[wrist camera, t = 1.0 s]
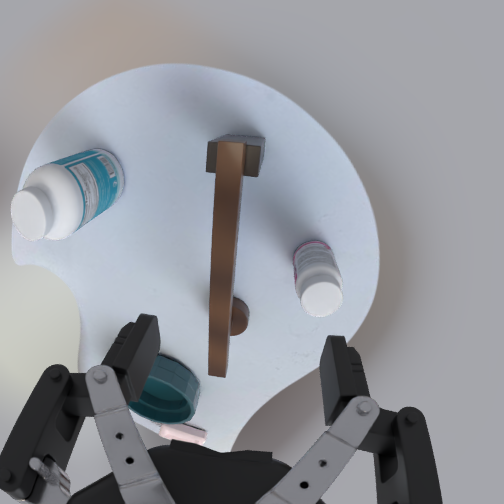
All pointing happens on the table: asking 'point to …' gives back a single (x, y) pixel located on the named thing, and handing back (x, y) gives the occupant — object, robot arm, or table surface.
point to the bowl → (168, 394)
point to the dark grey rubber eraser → (251, 157)
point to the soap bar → (183, 433)
